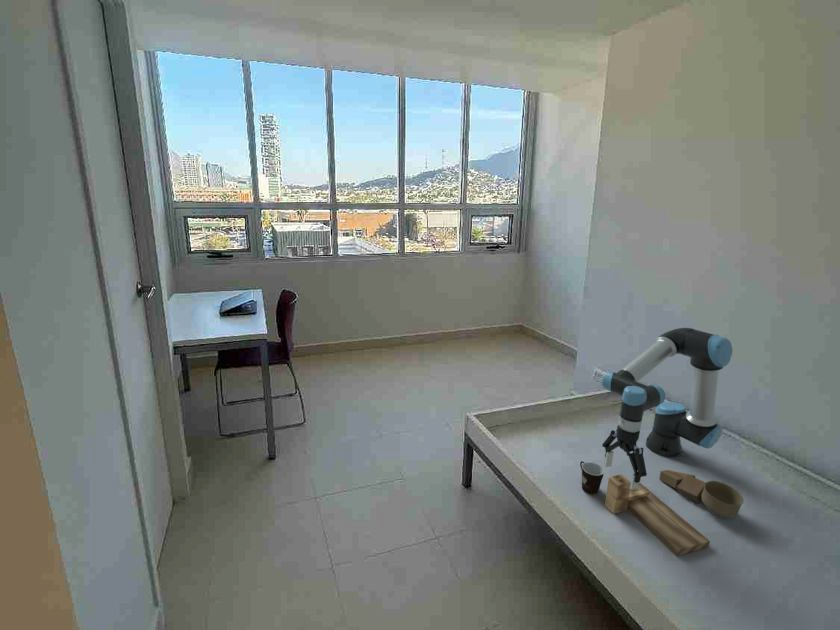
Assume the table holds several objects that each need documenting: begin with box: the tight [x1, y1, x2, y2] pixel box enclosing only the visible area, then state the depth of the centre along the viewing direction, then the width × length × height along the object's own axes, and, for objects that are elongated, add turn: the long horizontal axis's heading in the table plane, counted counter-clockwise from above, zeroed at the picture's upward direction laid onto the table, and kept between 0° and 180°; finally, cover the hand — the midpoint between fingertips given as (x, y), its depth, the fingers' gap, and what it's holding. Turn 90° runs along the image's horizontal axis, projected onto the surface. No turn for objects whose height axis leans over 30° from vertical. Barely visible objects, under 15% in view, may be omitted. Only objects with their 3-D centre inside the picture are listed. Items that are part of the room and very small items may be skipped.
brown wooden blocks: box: [659, 469, 707, 504], centre depth 180 cm, size 8×13×18 cm
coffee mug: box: [579, 461, 605, 495], centre depth 179 cm, size 12×9×10 cm
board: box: [626, 482, 711, 557], centre depth 163 cm, size 14×32×2 cm, turn 17°
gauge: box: [604, 473, 649, 514], centre depth 168 cm, size 18×5×14 cm, turn 107°
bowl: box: [701, 480, 744, 518], centre depth 165 cm, size 13×13×10 cm
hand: (620, 476), depth 164 cm, fingers open, 13 cm apart
